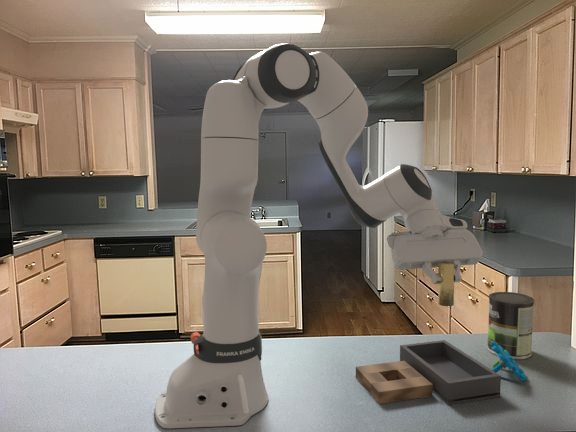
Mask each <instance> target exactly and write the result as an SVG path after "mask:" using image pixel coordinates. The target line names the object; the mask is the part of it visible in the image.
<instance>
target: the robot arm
mask: <svg viewBox="0 0 576 432" xmlns="http://www.w3.org/2000/svg"><path fill="white" fill-rule="evenodd" d="M295 102H299V103H300V104H302V105H303V106H304V107H305V108H306V109H307V111H308V112H309V114H310V115H311V116H312V118H313V119H314V121H315V122H316V124H317V125H318V127H319V131H320V138H319V139H318V147H319V150H320V154H321V156H322V158H323V160H324V162H325V164H326V166H327V168H328V170H329V172H330V174H331V175H332V176H331V177H333V179H334V181H335V183H336V185H337V186H338V189H339V190H340V192H341V194H342V196H343V197H344V199H345V201H346V204H347V206H348V208H349V210H350V213H351V215H352V216H353V219H354V220H355V221H356V223H357V224H358V225H360V226H363V227H364V228H365V227H366V228H370V229H371V228H372V229H376V228H377V227H379V226H380V225H381V224H383V223H384V222H386V221H387V220H389V219H391V218H392V217H395V216H396V215H397V214H400V215H401V216H402V218H403V220H404V227H405V230H406V231H401V232H397V231H396V232H391V234H389V235H388V236H387V238H386V241H387V244H388V247H389V248H390V249H391V258H392V263H393V265H394V267H395V268H396V269H397V270H398V271H401V270H402V271H406V270H417V269H421V270H422V271H423V273H424V274H425V275H426V276H427V277H429V278H430V280H431V282H432V284H433V285H438V284H440V282H441V281H442V278H441V277H440V276H441V275H440V273H438V272H435V271H434V268H438V263H441V262H450V263H454V283H461V281H462V279H463V276H462V275H461V267H462V266H472V265H474V266H475V265H477V264H478V263H479V262H480V261H481V259H482V258H483V255H484V251H483V249H482V248H481V245H480V243H479V241H478V240H477V238H476V236H475V235H474V233H472V232H471V230H469V229H467V228H468V223H467V222H466V221H465V220H464V219H459V218H456V217H455V218H454V217H451V216H448V215H444V214H442V213H441V211H440V210H439V209H438V208H437V204H436V199H435V197H434V195H433V190H432V188H431V187H432V186H431V185H430V183H429V181H428V179H427V177H426V176H425V174H424V172H422V170H420V168H418V167H417V166H413V165H411V164H406V163H401V164H399V165H397V166H396V167H393V168H391V169H390V170H388V171H386V172H385V173H383V175H381V176H378V178H376V179H374V180H372V181H371V182H369V183H367V184H365V185H361V184H359V183H358V182H359V181H358V180H357V178H356V177H355V175H354V173H353V170H352V169H351V167H350V164H349V163H348V162H347V161H348V160H347V159H346V157H347V154H348V153H349V151H350V149H351V148H352V146H353V145H354V143H355V142H356V141H357V140H358V138H359V137H360V136H361V134H362V132H363V130H364V128H365V126H366V124H367V121H368V116H369V106H368V103H367V101H366V99H365V97H364V96H363V94H362V92H361V90H360V89H359V88H358V87H357V85H356V83H355V82H354V80H353V79H351V77H350V76H349V75H348V73H347V72H346V71H345V70H344V68H343V67H342V66H341V65H339V63H338V62H336V61H335V60H334V59H333V58H332V57H331V56H330V55H329V54H328V53H326V52H323V51H315V52H311V53H308V52H307V51H306V50H304V49H303V48H302V47H300V46H298V45H296V44H292V43H284V42H283V43H278V44H277V43H276V44H274V45H272V46H270V47H268V48H267V49H264V50H263V51H262V50H261V51H259V52H257V53H255V54H254V55H253V56H251V57H249V59H248V60H246V61H244V63H242V64H241V65H240V66H239V67H238V69H237V71H236V73H235V75H234V76H233V78H232V79H227V80H221V81H218V82H216V83H213V85H211V86H210V88H209V89H208V90H207V92H206V95H205V100H204V104H203V105H204V106H203V111H202V119H201V128H200V129H201V132H200V138H201V139H200V182H199V183H200V184H199V191H198V203H197V210H196V211H197V212H196V213H197V214H196V227H195V228H196V230H195V240H196V244H197V246H198V248H199V250H200V251H201V253H202V254H203V256H204V283H203V294H202V297H201V298H202V300H201V301H202V325H203V327H202V328H203V329H202V330H203V333H202V334H200V333H199V332H196V331H195V332H192V333H191V334H190V342H191V344H192V345H193V354H192V355H191V356H190V357H188V358H187V359H186V360H185V361H184V362H182V363H181V364H180V365H179V366H177V367H176V368H175V369H174V370H173V371H172V372H171V374H170V376H169V379H168V382H167V387H166V389H165V390H163V391H162V392H161V393H160V394H159V396H158V398H157V399H156V403H155V408H154V409H155V410H154V416H155V421H156V422H157V424H158V425H159V426H160V427H162V429H183V428H184V429H185V428H205V427H206V428H208V427H209V428H210V427H211V428H212V427H229V426H234V427H236V426H241V425H242V426H243V425H244V424H246V423H247V422H248V420H249V419H250V418H251V417H252V416H254V415H255V414H257V413H259V412H260V411H262V410H263V409H264V408H265V407H266V405H267V404H268V403H269V394H268V392H267V389H266V385H265V381H264V377H263V370H262V362H261V361H262V355H263V343H262V341H263V339H262V334H261V331H260V328H259V326H260V325H259V324H260V323H259V293H260V292H259V291H260V284H261V276H262V270H263V261H264V259H265V256H266V254H267V248H268V245H267V238H266V236H265V234H264V231H263V230H262V228H261V227H260V225H259V224H258V222H256V220H254V219H253V218H251V211H252V205H253V200H254V194H255V190H256V187H257V184H258V180H259V142H260V141H259V139H260V138H259V135H260V134H259V133H260V132H259V131H260V130H259V124H260V120H261V116H262V114H263V111H266V110H269V109H277V108H278V109H279V108H281V107H285V106H286V105H288V104H290V103H295Z"/></svg>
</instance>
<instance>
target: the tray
mask: <svg viewBox="0 0 576 432" xmlns="http://www.w3.org/2000/svg"><path fill="white" fill-rule="evenodd" d="M399 361H405V362H407V363H408V364H409V365H410V366H411V367H413V368H414V369H415V370H416V371H417V372H419V373H420V374H421V375H422V376H423V377H425V378H426V379H427V380H428V381H429V382H431V383H432V384H433V394H435V395H436V396H437V398H440V399H441V400H442V401H443V402H444V403H445V404H446V405H448V406H450V405H457V404H462V403H463V404H464V403H469V402H476V401H481V400H488V399H494V398H500V397H501V387H502V386H501V382H502V381H501V380H502V375H500V374H499V373H498V372H497V373H496V372H494V371H493V370H492V369H491V368H489V367H488V366H486V365H484V364H483V363H482V362H480V361H478V360H477V359H476V358H473V357H472V356H471V355H469V354H467V353H465V352H464V351H462V350H461V349H460V348H457V347H456V346H455V345H453V344H452V343H450V342H449V341H447V340H445V339H443V340H435V341H433V340H432V341H425V342H417V343H409V344H408V343H407V344H400V346H399Z"/></svg>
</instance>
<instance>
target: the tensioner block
mask: <svg viewBox="0 0 576 432" xmlns="http://www.w3.org/2000/svg"><path fill="white" fill-rule="evenodd" d="M355 378H356V379H357V381H358V382H359V383H360V385H362V387H363V388H364V389H365V390H366V391H367V392H368V394H369V395H371V397H372V398H373V400H375V402H376V403H378V405H380V404H388V403H393V402H401V401H409V400H413V399H421V398H429V397H432V396H433V394H434V392H433V384H432V383H431V382H429V381H428V380H427V379H426V378H425V377H423V376H422V375H421V374H420V373H419V372H417V371H416V370H415V369H414V368H413V367H411V366H410V365H409V364H408V363H407V362H405V361H400V360H399V361H389V362H383V363H376V364H368V365H359V366H356V367H355Z"/></svg>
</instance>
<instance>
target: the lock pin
mask: <svg viewBox="0 0 576 432" xmlns="http://www.w3.org/2000/svg"><path fill="white" fill-rule="evenodd" d="M437 269H438V272H437V273H440V275H441V276H440V277H441V278H442V281H441V282H440V284H437V285H438V290H437V291H438V305H439V306H442V307H452V306H454V305H455V282H454V263H450V262H441V263H438V267H437Z"/></svg>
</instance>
